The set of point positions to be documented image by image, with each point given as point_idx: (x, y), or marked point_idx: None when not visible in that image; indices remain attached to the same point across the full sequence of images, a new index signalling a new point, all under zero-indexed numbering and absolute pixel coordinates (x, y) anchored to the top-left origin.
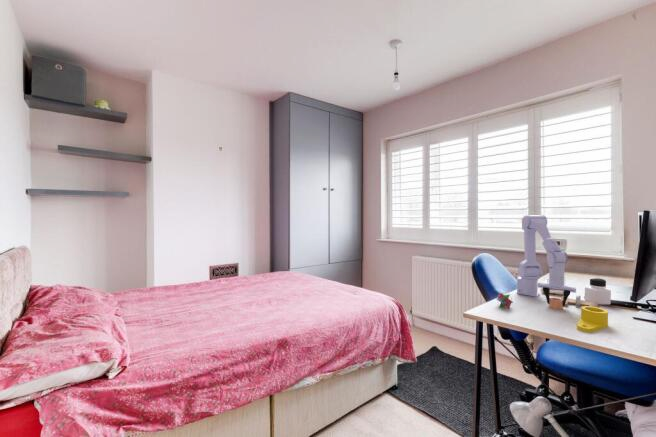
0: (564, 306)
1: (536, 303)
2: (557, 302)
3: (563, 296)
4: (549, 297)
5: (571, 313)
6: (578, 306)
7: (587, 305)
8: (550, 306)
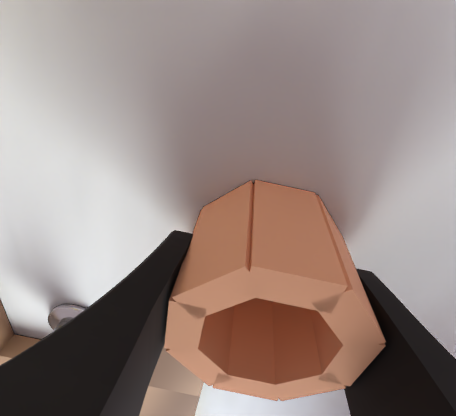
0: (171, 232)
1: (442, 312)
2: (265, 244)
3: (107, 389)
4: (346, 395)
5: (99, 57)
6: (67, 321)
7: (13, 351)
8: (337, 230)
